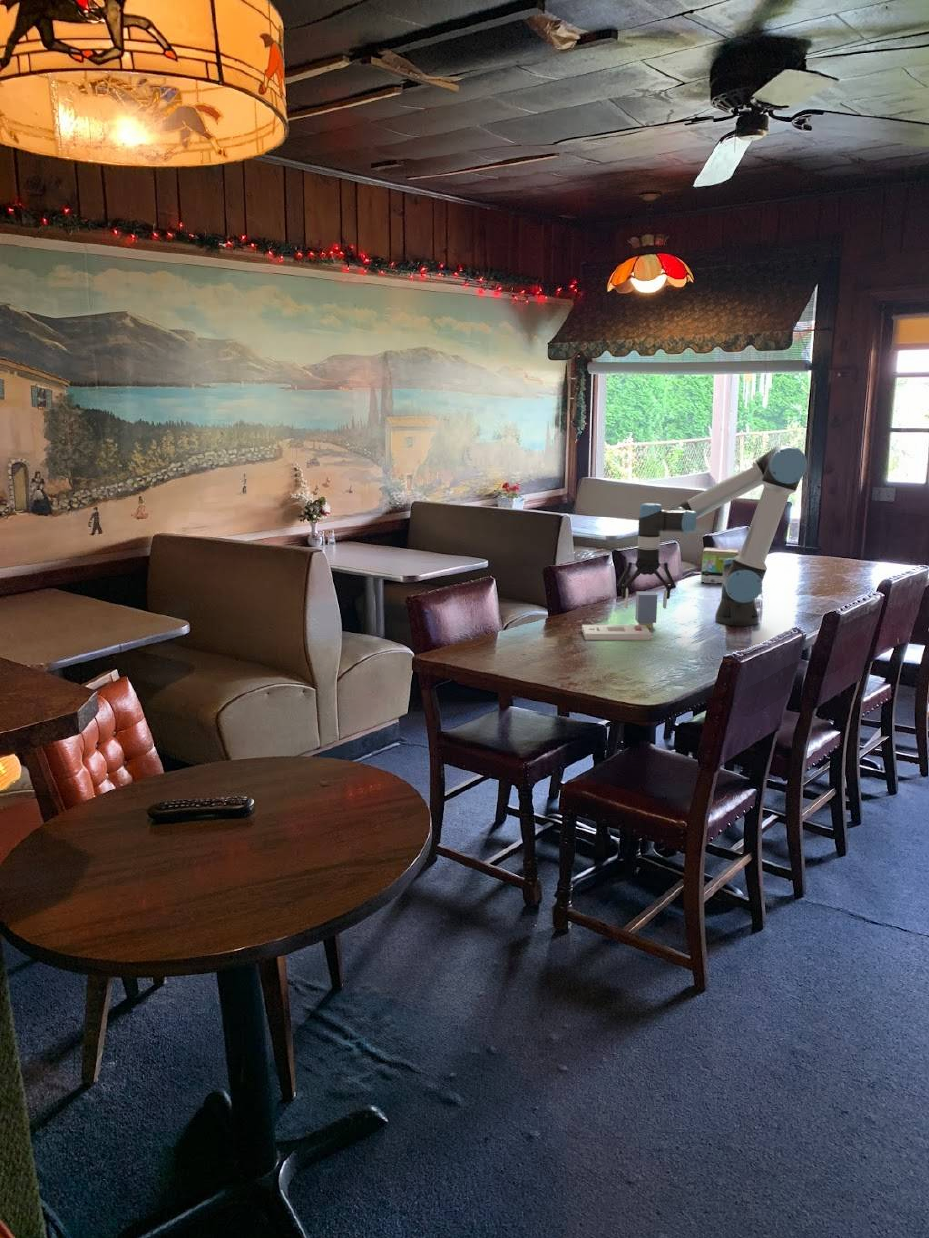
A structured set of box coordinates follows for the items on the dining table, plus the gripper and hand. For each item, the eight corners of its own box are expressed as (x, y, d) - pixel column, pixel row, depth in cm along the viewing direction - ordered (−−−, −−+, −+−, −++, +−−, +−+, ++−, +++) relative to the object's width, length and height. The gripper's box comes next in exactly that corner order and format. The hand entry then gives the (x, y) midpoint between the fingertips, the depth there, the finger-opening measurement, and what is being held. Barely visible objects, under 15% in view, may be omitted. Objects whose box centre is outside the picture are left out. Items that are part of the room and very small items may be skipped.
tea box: (700, 583, 410) (702, 550, 407) (702, 579, 419) (704, 546, 416) (736, 585, 405) (738, 551, 402) (737, 581, 415) (739, 548, 411)
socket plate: (645, 630, 325) (645, 623, 324) (651, 639, 312) (651, 632, 312) (582, 630, 326) (582, 623, 325) (585, 639, 313) (585, 632, 313)
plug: (653, 624, 334) (654, 591, 332) (656, 628, 328) (657, 595, 325) (635, 624, 335) (636, 591, 332) (637, 628, 328) (638, 595, 326)
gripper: (682, 547, 328) (678, 605, 333) (611, 545, 329) (608, 604, 334) (686, 550, 321) (682, 610, 326) (613, 549, 322) (610, 609, 327)
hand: (645, 607), depth 330 cm, fingers open, 13 cm apart
